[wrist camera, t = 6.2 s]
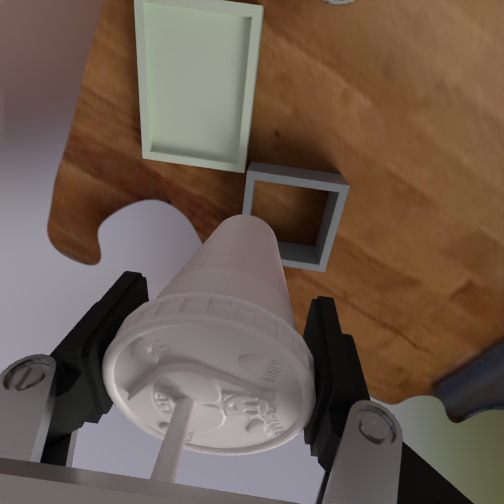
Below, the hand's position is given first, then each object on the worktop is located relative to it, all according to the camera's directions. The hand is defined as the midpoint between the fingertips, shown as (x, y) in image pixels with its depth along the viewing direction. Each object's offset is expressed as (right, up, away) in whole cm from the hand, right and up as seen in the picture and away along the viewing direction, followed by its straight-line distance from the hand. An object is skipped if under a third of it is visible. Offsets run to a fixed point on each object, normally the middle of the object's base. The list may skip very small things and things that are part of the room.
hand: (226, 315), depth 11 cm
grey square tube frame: (+5, +7, +23) cm, 25 cm away
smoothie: (+1, +3, +6) cm, 6 cm away
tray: (-4, +19, +18) cm, 26 cm away
